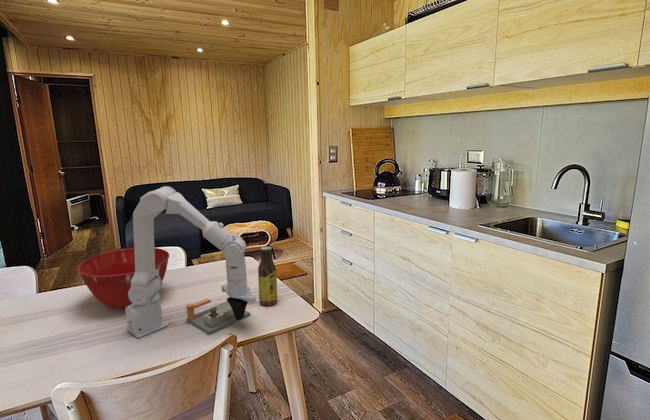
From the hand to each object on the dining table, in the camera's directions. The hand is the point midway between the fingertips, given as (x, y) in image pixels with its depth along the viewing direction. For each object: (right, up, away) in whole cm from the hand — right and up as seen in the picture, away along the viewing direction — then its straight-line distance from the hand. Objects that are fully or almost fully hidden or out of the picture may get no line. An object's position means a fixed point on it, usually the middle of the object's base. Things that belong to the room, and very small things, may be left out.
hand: (239, 318), depth 115 cm
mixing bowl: (-43, +1, +18) cm, 47 cm away
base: (-8, -1, +4) cm, 9 cm away
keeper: (-14, -1, +5) cm, 15 cm away
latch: (-5, 0, +2) cm, 6 cm away
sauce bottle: (+7, +1, +15) cm, 16 cm away
